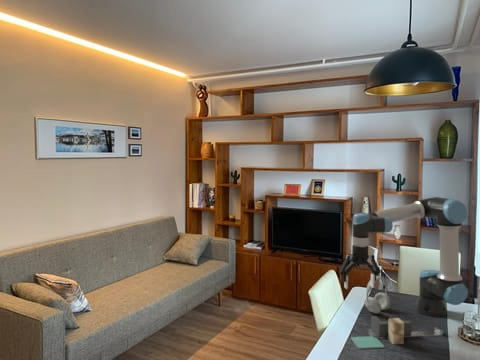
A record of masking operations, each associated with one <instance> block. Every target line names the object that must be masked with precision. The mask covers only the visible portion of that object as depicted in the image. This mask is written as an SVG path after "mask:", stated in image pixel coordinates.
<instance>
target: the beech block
mask: <svg viewBox="0 0 480 360" xmlns="http://www.w3.org/2000/svg"><path fill="white" fill-rule="evenodd" d="M388 321H389V322H388V338H387V339H388V341H389V342H390V343H391V344H392V345H403V344H404V343H405V337H404V322H403V321H404V320H402V319H401V318H400V317H395V318H394V317H393V318H392V317H391V318H388ZM404 345H405V344H404Z"/></svg>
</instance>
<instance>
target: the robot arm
mask: <svg viewBox="0 0 480 360" xmlns="http://www.w3.org/2000/svg"><path fill="white" fill-rule="evenodd" d="M414 218H415V219H416V218H418V219H425V218H428V219H429V218H430V219H435V224H436V226H437V227H438V228H439V270H438V269H437V270H436V269H424V270H421V271H420V273H419V295H418V299H417V301H416V304H415V311H416V312H418V313H420V314H422V315H425V316H427V317H435V318H440V317H444V316H446V314H447V310H446V307H445V303H447V304H449V305H451V306H458V305H461V304H463V303H464V301H465V300H466V299H467V297H468V293H469V292H468V290H469V289H468V288H467V287H466V286H465V285H464V283H463V277H462V276H461V275H460V271H459V270H460V267H459V266H460V265H459V264H460V262H459V261H460V254H459V253H460V251H459V250H460V249H459V246H460V245H459V242H460V241H459V240H460V239H459V229H460V228H461V227H462V226H463V223H464V222H465V221H466V219H467V218H468V210H467V207H466V205H465V204H464V203H463V202H462V201H460V200H457V199H454V198H448V197H447V198H446V197H439V196H434V197H429V198H428V197H427V198H424V199H420V200H419V199H418V200H415V201H414V202H412V203H410V204H405V205H401V206H396V207H391V208H387V209H381V210H378V211H372V212H368V213H366V212H359V213H354V215H353V218H352V247H351V249H352V250H351V252H352V254H351V255H349V254H346V255H345V258H344V261H343V262H342V264H341V267H340V269H339V271H338V273H339V274H340V275H342V282H343V284H344V285H343V286H344V289H346V290H348V288H349V273H350V272H351V270H352V269H353V268H354V266H356V265H365V266H366V267H367V268H368V269H369V271H371V273H370V280H371V285H370V286H371V287H372V288H371V289H375V284H376V282H377V281H376V276H379V275H378V274H381V270H380V268H379V266H378V264H377V261H376V259H375V257H376V256H375V255H374V254H373V253H371V254H369V245H370V244H369V240H370V239H369V237H370V236H369V235H370V234H374V233H375V234H380V233H382V234H386V233H390V232H392V230H393V223H397V222H401V221H406V220H410V219H414ZM350 260H351V261H350ZM368 260H370V261H371V264H372V265H371V264H370V262H368ZM375 281H376V282H375Z"/></svg>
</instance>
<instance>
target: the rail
mask: <svg viewBox="0 0 480 360" xmlns="http://www.w3.org/2000/svg"><path fill="white" fill-rule="evenodd" d="M368 335H369V336H372V337H376V338H377V339H388V336H378V335H377V334H376V333H375V332H374V330H373V329H372V328H368ZM434 336H437V337H438V336H439V337H441V336H444V329H442V328H441V327H440V326H436V325H435V326H434V330H421V331H419V330H418V331H416V330H415V331H411V335H404V338H411V337H413V338H414V337H415V338H416V337H434Z"/></svg>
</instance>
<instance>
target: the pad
mask: <svg viewBox="0 0 480 360" xmlns="http://www.w3.org/2000/svg"><path fill="white" fill-rule="evenodd" d="M350 340H352V342H353V344H354V345H355V346H356V347H357V349H358V348H359V349H358V350H365V349H367V350H368V349H385V345H384V344H383V342H381V341H380V339H379V338H376V337H372V336H370V335H369V336H351V337H350Z"/></svg>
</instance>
